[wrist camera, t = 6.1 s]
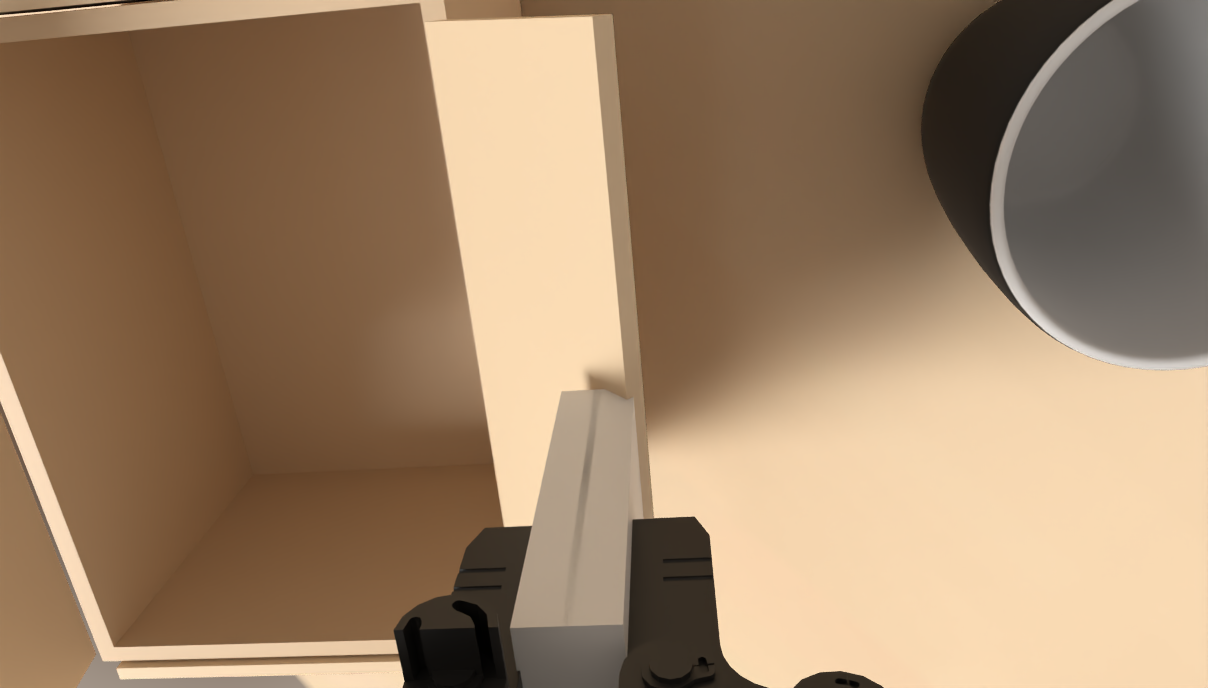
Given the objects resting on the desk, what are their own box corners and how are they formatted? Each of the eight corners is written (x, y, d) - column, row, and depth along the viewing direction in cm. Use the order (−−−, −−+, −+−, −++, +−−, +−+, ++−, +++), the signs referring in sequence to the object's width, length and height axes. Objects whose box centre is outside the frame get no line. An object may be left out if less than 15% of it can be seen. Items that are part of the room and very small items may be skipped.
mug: (948, 290, 30) (1071, 435, 21) (836, 52, 28) (922, 98, 18) (1322, 111, 27) (1657, 189, 18) (1239, -176, 25) (1583, -259, 15)
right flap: (592, 16, 14) (612, 14, 14) (424, 21, 18) (442, 19, 18) (660, 771, 20) (673, 761, 20) (524, 645, 24) (536, 638, 24)
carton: (107, -8, 28) (-167, 8, 19) (514, -49, 27) (433, -54, 18) (250, 490, 36) (100, 679, 26) (576, 476, 34) (542, 669, 25)
